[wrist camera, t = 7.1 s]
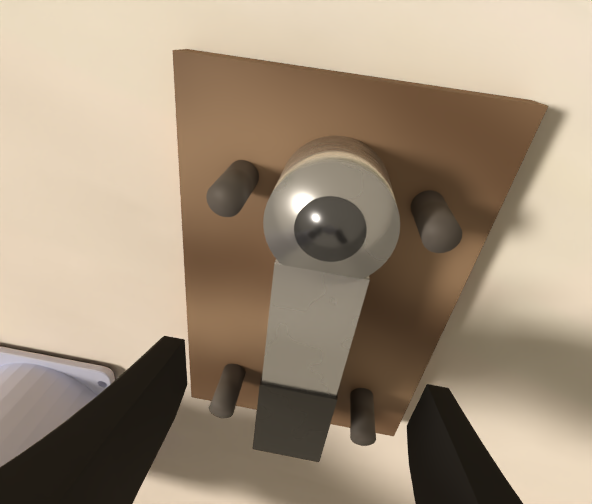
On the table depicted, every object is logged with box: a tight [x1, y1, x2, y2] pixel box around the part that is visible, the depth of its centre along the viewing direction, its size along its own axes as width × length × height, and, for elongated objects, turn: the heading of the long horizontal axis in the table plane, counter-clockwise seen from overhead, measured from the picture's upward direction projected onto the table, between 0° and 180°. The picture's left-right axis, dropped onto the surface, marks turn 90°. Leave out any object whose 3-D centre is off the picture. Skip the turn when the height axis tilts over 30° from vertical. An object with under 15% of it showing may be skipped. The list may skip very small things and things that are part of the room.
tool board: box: [173, 49, 548, 446], centre depth 13 cm, size 15×10×3 cm, turn 173°
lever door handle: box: [253, 136, 400, 462], centre depth 12 cm, size 12×3×3 cm, turn 173°
